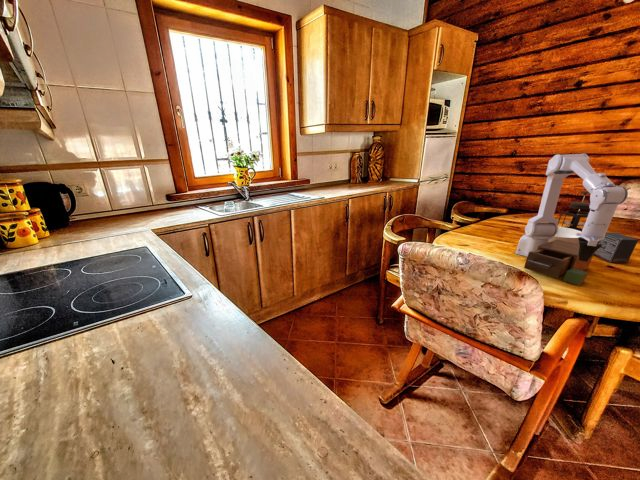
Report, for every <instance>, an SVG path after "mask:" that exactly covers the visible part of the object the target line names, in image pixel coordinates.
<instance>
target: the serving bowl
mask: <svg viewBox="0 0 640 480" xmlns="http://www.w3.org/2000/svg"><path fill="white" fill-rule="evenodd" d="M576 233H581V231H578V230H575V229H571V228H565V227H564V226H562V227H561V226H559V225H558V232H557V234H556V235H555V236H553V237H552V238H551V239H549V241H548V242H551V241H554V240H562V241H567V242H571V243H576V244H579V239H578V237H581V236H577V235H576Z"/></svg>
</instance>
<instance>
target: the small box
mask: <svg viewBox="0 0 640 480" xmlns="http://www.w3.org/2000/svg"><path fill="white" fill-rule="evenodd" d="M638 242H639V239H637V238H634V237H631V236H628V235H626V234H622V233H619V232H611V231H609V232H608V231H606V234H605V238H604V239H603V240H601V242H600V243H598V244H602V246H601V247H600V248H599V249H598V250H596V251H595V252H594V255H593V256H595V257H597V258H600V259H602V260H604V261H606V262H608V263H614V264H615V263H617V264H619V263H620V264H628V262H629V261H630V258H631V256H632V254H633V252H634V250H635V249H636V246H637V244H638Z"/></svg>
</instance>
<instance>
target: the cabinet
mask: <svg viewBox="0 0 640 480" xmlns="http://www.w3.org/2000/svg"><path fill="white" fill-rule="evenodd" d="M579 246H580V245H579V244H576V243H571V242H567V241H562V240H554V241H551V242H548V243H545V244H542V245H539V246H538V248H537V251H538V250H541V249H546V250H550V251H554V252H558V253H562V254H566V255H570V256H574V259H573V261H572V264H571V266H570V269H572V268H574V269H578V270H582V271H585V270H588V269H589V266H590V265H591V262H592V259H593V257H594V256H595V255H594V253H593V254H592V256H591V257H590V258H589V260H588V261H587V262H586V261H580V260H579V257H578V254H579ZM570 269H569V270H570ZM565 274H566V273H564V274H562V275H561V276H565Z"/></svg>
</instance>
